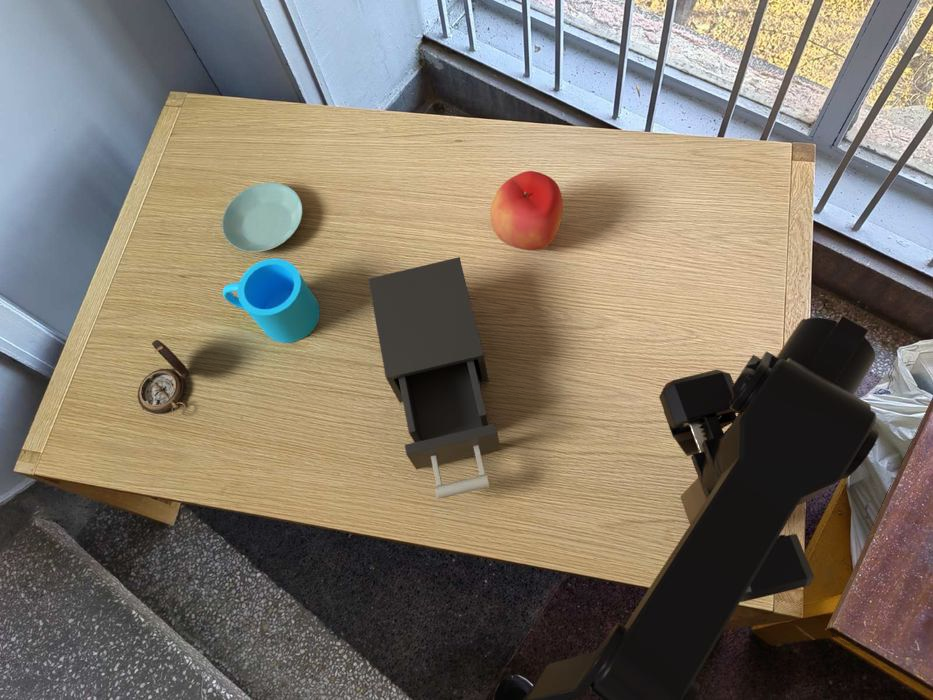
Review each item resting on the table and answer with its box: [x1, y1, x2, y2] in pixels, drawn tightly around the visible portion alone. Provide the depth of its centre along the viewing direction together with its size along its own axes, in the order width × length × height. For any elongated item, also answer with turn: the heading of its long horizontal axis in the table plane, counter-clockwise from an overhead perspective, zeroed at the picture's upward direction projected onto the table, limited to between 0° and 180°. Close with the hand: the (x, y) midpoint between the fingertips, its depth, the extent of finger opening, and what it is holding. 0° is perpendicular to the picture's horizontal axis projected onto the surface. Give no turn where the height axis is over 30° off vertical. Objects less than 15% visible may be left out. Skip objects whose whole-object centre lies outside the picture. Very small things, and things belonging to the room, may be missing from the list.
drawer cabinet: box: [367, 256, 489, 403], centre depth 85 cm, size 14×12×9 cm
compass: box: [137, 339, 191, 417], centre depth 86 cm, size 8×8×7 cm
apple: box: [489, 170, 564, 251], centre depth 90 cm, size 10×10×10 cm
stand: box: [680, 477, 706, 525], centre depth 72 cm, size 6×6×12 cm
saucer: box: [221, 182, 303, 253], centre depth 98 cm, size 12×12×2 cm
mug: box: [222, 258, 321, 344], centre depth 89 cm, size 12×8×8 cm
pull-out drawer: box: [399, 360, 501, 500], centre depth 80 cm, size 17×10×7 cm, turn 12°
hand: (708, 498), depth 65 cm, fingers open, 9 cm apart
